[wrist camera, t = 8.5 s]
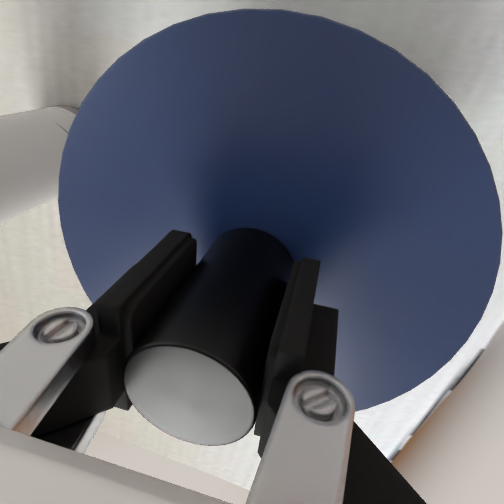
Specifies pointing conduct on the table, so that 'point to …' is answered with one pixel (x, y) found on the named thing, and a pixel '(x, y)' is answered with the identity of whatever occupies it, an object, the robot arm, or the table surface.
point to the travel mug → (31, 158)
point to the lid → (279, 208)
